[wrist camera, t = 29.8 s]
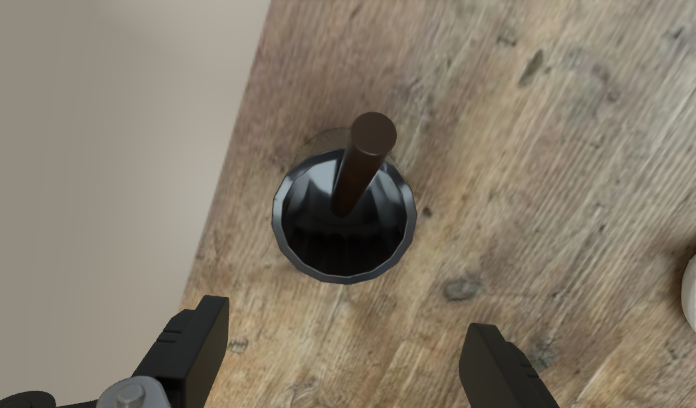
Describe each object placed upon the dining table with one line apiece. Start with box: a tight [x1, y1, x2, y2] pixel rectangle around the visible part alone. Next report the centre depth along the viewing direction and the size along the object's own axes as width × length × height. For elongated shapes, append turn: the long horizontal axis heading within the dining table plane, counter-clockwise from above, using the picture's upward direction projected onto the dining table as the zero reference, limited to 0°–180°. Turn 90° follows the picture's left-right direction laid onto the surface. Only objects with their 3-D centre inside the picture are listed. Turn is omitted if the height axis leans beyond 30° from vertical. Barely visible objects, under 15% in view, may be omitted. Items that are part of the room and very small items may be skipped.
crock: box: [271, 128, 417, 285], centre depth 27 cm, size 8×8×9 cm
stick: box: [330, 112, 397, 218], centre depth 22 cm, size 2×2×16 cm
